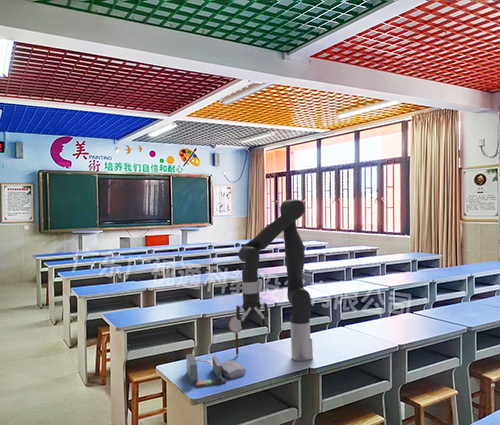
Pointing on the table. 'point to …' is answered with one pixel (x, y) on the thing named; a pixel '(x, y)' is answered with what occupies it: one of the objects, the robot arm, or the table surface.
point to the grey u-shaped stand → (194, 375)
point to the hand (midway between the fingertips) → (252, 327)
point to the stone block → (232, 369)
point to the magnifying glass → (235, 328)
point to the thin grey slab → (216, 367)
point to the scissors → (205, 360)
